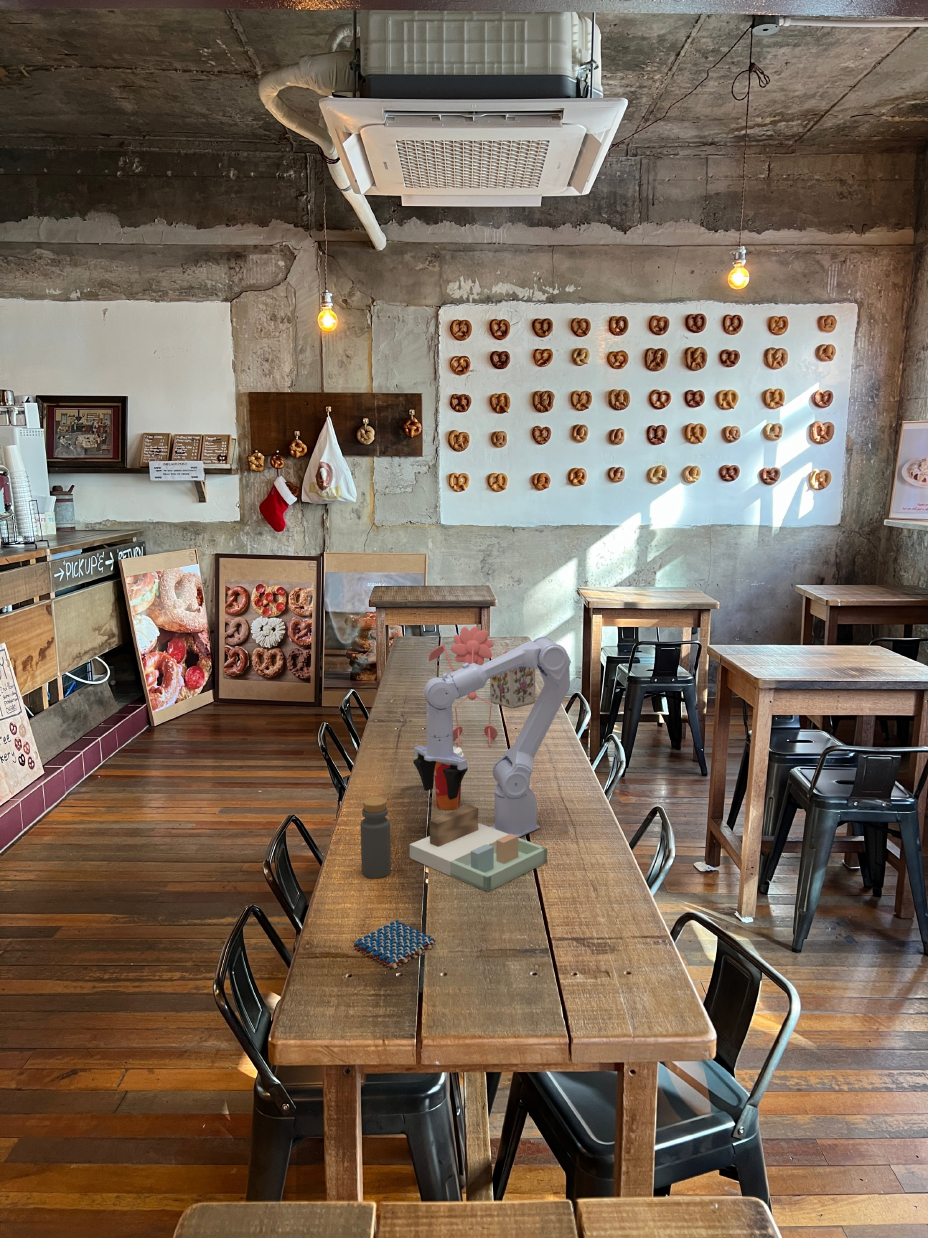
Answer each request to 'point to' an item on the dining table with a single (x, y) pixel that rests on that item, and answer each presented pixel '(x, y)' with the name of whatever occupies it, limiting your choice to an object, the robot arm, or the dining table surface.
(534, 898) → the dining table surface
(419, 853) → the bench
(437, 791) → the paper cup
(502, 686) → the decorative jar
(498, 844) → the tile
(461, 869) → the tray
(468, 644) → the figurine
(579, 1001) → the dining table surface
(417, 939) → the woven mat
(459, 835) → the bar
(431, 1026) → the dining table surface
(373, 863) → the bottle
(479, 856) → the tile
